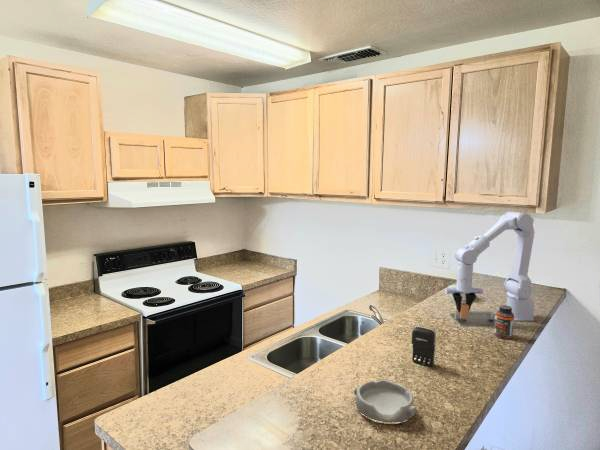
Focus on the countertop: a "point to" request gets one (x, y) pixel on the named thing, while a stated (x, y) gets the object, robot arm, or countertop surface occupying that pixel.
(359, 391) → the dish
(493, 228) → the robot arm
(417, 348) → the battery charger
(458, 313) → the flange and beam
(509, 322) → the supplement bottle
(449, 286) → the ramekin
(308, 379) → the countertop surface
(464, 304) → the block
